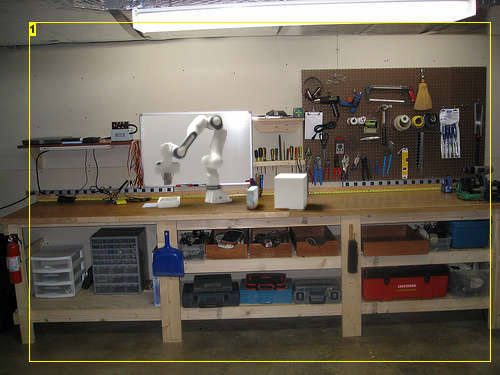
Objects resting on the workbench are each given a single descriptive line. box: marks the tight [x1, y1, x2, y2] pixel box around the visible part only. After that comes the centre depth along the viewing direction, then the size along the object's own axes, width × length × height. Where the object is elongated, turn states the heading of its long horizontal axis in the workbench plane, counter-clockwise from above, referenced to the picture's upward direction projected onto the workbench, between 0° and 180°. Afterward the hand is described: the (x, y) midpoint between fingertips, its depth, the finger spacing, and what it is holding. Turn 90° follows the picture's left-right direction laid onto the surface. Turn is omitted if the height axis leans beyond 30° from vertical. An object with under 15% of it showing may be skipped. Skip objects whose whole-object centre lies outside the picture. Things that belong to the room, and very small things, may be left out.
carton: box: [157, 196, 181, 209], centre depth 304 cm, size 16×18×5 cm
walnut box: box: [163, 173, 173, 186], centre depth 301 cm, size 5×12×9 cm, turn 6°
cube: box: [273, 173, 308, 210], centre depth 286 cm, size 25×21×24 cm
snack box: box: [246, 185, 259, 210], centre depth 288 cm, size 21×6×15 cm, turn 168°
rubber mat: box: [141, 202, 158, 209], centre depth 302 cm, size 11×16×1 cm
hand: (167, 179), depth 301 cm, fingers closed on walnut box, 5 cm apart
